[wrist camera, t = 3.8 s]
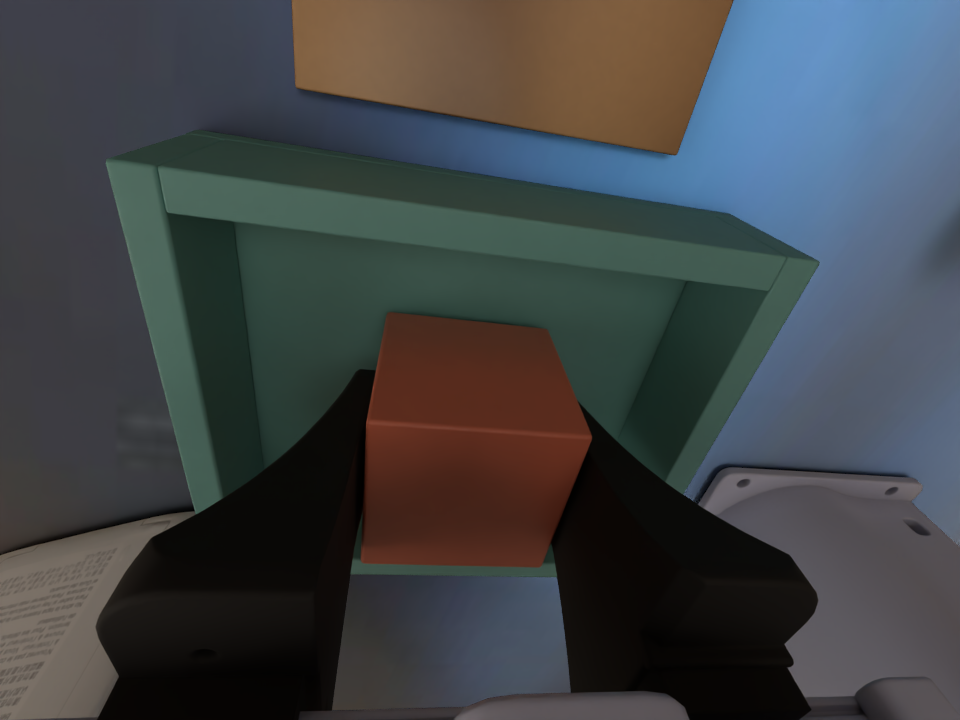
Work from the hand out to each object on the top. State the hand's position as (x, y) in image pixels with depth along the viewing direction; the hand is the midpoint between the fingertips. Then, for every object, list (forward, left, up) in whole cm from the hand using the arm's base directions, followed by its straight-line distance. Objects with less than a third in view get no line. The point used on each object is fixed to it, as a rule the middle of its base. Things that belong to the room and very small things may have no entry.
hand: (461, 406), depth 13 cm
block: (0, 0, -1) cm, 1 cm away
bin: (0, 0, -2) cm, 2 cm away
